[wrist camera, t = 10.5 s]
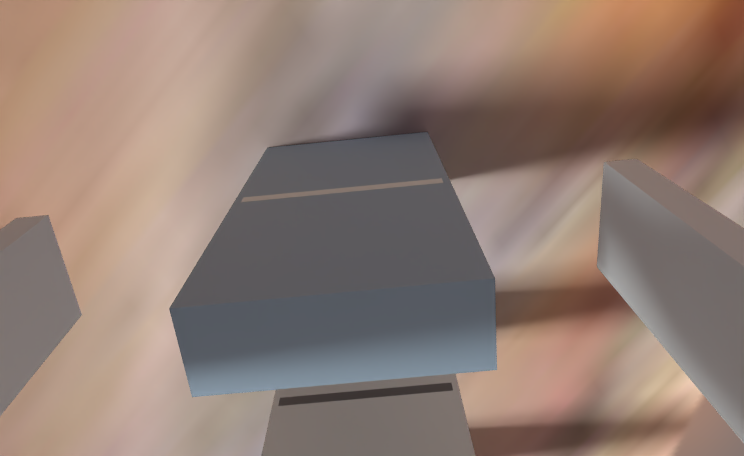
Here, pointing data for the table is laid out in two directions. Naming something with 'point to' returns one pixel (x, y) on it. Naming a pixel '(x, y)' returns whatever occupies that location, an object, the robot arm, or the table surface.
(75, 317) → the robot arm
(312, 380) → the blue domino
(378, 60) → the table surface
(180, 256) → the table surface
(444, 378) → the domino
